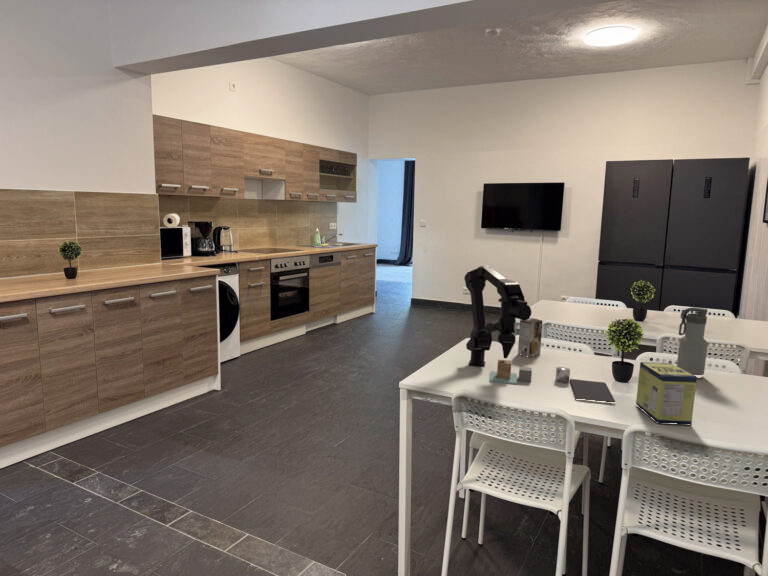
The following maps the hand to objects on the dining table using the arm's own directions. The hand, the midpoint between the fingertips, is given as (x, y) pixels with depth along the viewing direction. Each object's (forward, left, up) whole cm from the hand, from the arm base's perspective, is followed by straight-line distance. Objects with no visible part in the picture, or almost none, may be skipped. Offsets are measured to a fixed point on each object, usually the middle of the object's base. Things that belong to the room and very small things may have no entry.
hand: (505, 355), depth 193 cm
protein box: (+22, +50, -10) cm, 55 cm away
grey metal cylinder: (-4, +22, -9) cm, 24 cm away
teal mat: (0, 0, -9) cm, 9 cm away
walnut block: (0, 0, -9) cm, 9 cm away
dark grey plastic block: (-1, +8, -9) cm, 12 cm away
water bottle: (-30, +74, -10) cm, 80 cm away
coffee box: (-40, +11, -10) cm, 43 cm away
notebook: (+6, +31, -10) cm, 33 cm away
